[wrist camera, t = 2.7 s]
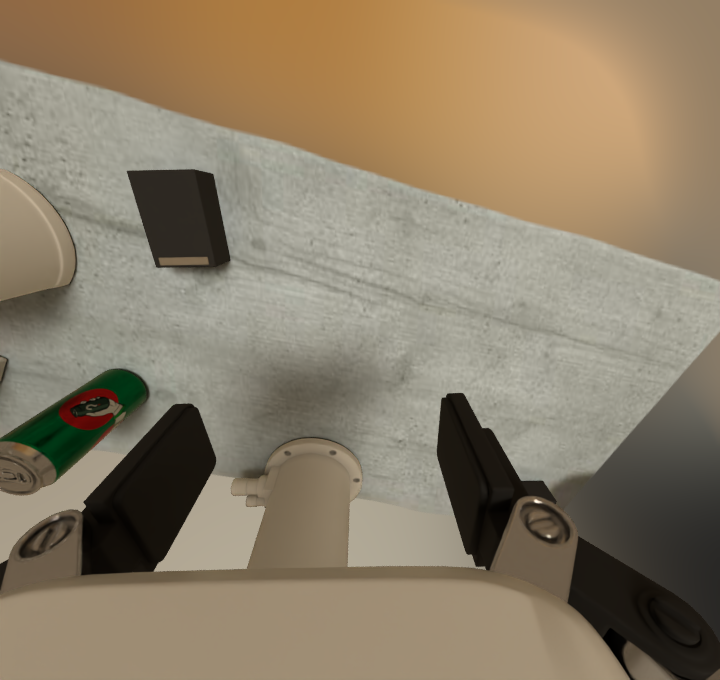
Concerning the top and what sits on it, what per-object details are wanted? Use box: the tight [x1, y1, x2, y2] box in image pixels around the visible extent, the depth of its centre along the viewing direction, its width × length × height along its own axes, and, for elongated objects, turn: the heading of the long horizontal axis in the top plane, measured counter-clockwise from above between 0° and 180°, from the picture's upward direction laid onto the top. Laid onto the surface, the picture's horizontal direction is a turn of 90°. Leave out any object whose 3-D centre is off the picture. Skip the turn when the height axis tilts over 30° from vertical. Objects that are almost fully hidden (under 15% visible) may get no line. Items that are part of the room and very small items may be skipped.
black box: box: [127, 169, 230, 268], centre depth 24 cm, size 5×7×3 cm
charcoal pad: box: [521, 481, 557, 504], centre depth 39 cm, size 7×6×3 cm
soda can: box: [0, 369, 147, 495], centre depth 27 cm, size 5×5×12 cm
